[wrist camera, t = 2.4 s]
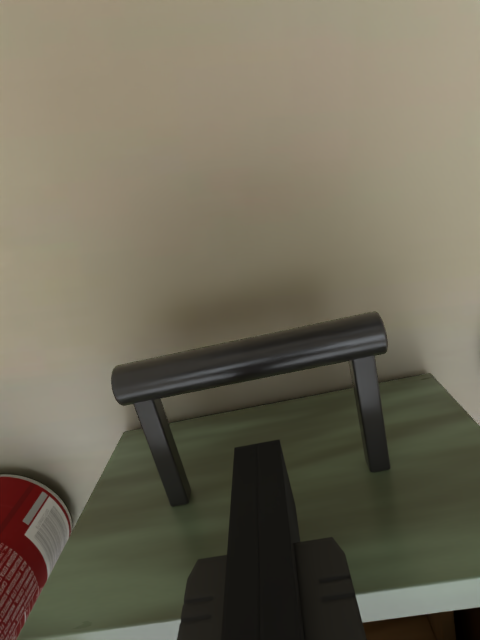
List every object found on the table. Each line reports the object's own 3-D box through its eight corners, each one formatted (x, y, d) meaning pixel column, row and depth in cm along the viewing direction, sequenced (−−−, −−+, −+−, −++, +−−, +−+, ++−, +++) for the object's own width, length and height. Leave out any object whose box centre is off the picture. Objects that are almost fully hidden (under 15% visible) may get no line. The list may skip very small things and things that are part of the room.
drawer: (84, 330, 21) (-84, 478, 10) (419, 256, 19) (619, 345, 9) (197, 624, 28) (163, 891, 17) (451, 589, 26) (585, 863, 15)
